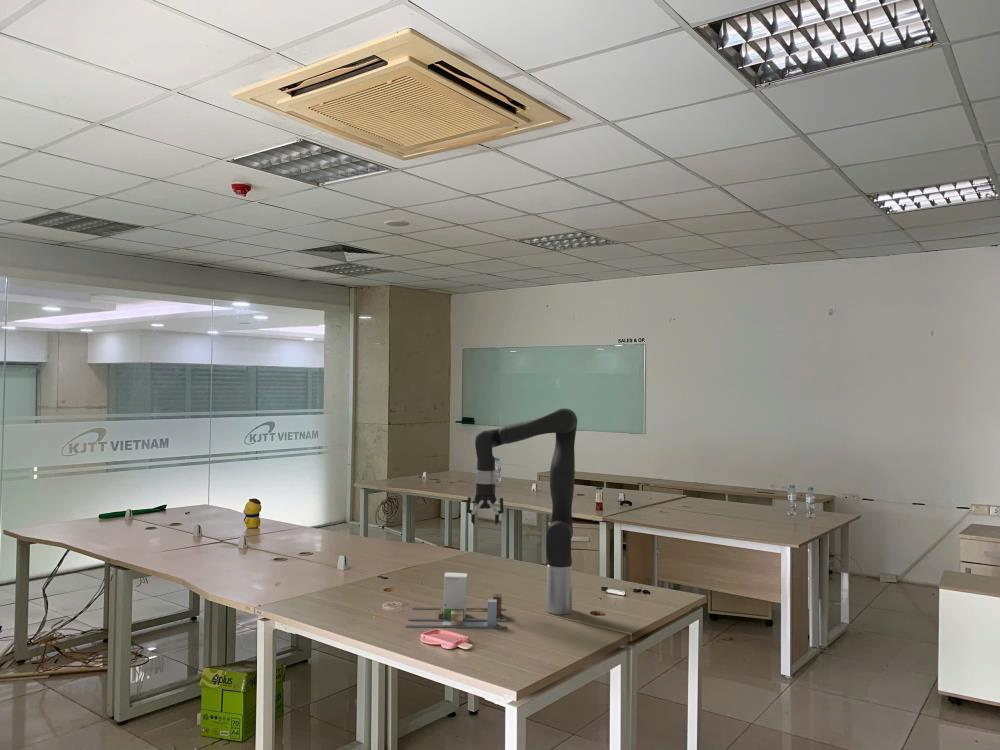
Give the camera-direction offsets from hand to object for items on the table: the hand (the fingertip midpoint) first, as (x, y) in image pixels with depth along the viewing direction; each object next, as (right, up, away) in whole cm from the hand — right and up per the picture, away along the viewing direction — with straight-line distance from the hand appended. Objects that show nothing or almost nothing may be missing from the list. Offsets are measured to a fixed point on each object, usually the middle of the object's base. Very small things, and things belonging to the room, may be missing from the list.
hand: (484, 524), depth 270 cm
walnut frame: (-5, -29, -20) cm, 36 cm away
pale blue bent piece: (-5, -29, -30) cm, 42 cm away
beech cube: (-9, -28, -30) cm, 42 cm away
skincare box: (-10, -29, -21) cm, 38 cm away
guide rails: (-9, -29, -24) cm, 38 cm away
